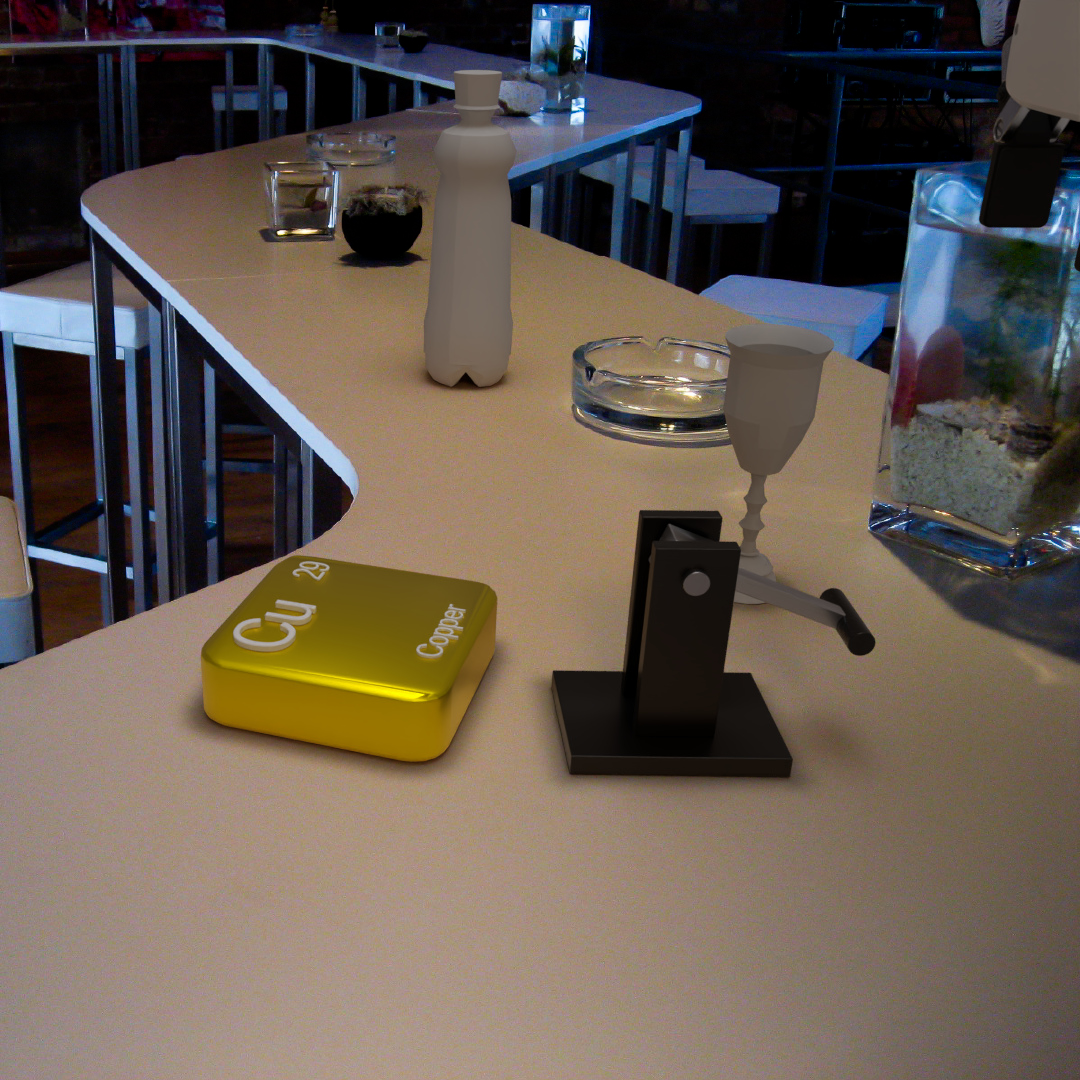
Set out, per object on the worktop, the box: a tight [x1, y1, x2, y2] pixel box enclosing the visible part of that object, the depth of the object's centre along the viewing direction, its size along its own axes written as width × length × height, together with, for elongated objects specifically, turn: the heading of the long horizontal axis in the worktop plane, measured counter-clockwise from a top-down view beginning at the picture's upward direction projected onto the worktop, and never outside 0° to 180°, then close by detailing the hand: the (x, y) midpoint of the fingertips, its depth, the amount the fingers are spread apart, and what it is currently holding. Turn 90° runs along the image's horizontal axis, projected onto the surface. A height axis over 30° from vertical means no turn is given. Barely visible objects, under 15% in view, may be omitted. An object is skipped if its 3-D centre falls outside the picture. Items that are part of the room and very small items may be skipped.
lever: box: [649, 524, 877, 657], centre depth 69 cm, size 12×5×2 cm, turn 90°
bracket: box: [551, 509, 794, 778], centre depth 70 cm, size 12×9×13 cm
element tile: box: [200, 554, 498, 763], centre depth 77 cm, size 15×15×5 cm
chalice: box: [723, 323, 835, 605], centre depth 85 cm, size 7×7×18 cm
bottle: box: [423, 69, 517, 388], centre depth 125 cm, size 9×9×30 cm
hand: (1058, 247), depth 59 cm, fingers open, 9 cm apart
